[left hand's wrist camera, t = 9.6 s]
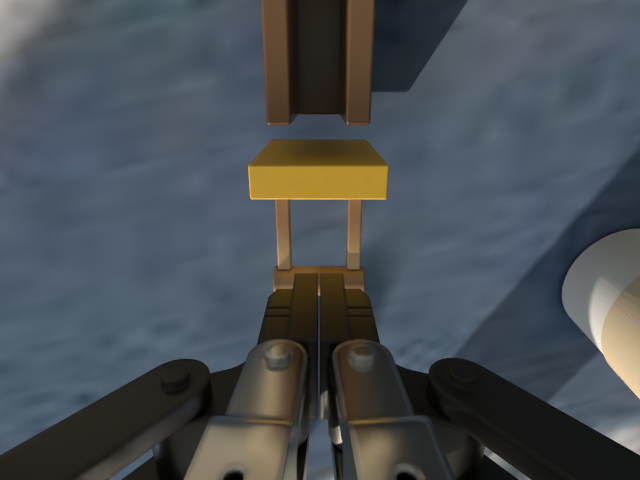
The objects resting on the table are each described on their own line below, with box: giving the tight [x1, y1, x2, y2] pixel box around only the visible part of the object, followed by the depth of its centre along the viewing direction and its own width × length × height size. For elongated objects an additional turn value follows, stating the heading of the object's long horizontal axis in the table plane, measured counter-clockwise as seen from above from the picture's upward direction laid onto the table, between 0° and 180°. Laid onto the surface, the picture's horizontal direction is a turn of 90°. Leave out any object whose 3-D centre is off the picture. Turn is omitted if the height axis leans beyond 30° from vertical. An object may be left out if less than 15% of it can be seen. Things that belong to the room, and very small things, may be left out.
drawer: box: [248, 0, 389, 296], centre depth 15 cm, size 22×5×7 cm, turn 0°
